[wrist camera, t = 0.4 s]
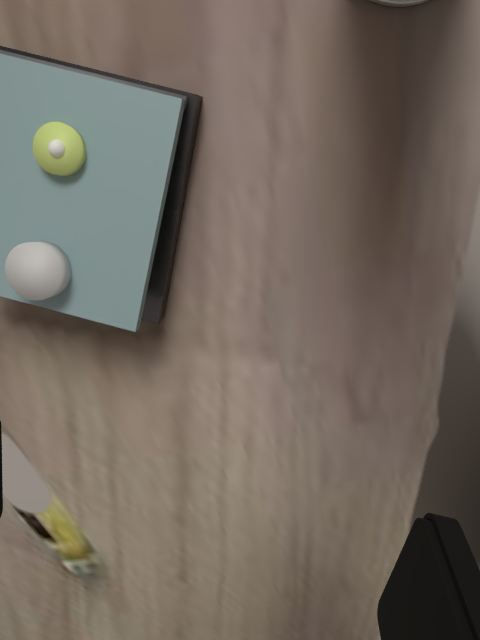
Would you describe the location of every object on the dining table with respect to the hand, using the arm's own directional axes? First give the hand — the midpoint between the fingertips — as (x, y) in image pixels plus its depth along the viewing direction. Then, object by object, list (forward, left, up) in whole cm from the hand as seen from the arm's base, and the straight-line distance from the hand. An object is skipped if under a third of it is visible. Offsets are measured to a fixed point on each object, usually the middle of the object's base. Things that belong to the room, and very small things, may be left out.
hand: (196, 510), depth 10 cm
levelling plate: (+1, -18, -31) cm, 36 cm away
